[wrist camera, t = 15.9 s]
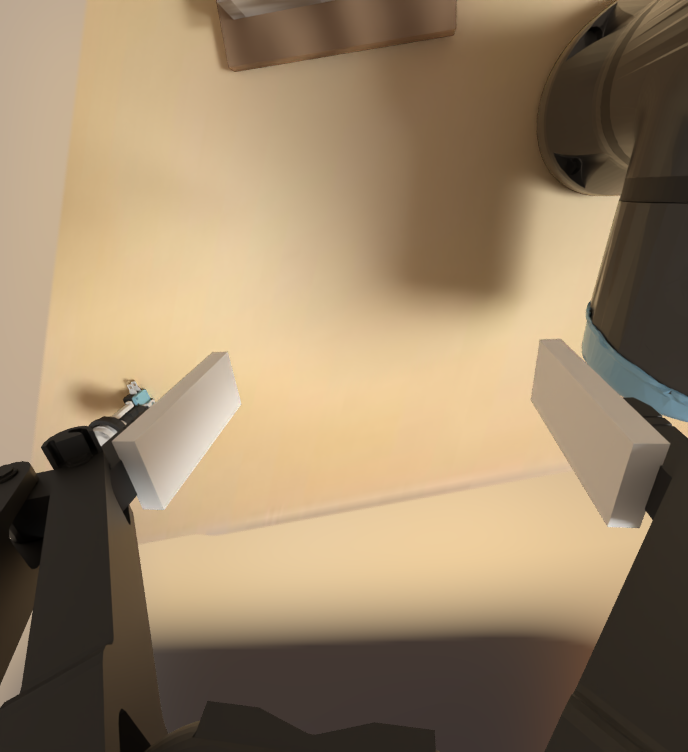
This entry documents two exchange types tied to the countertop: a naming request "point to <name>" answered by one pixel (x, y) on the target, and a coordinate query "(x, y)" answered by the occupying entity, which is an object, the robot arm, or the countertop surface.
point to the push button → (122, 414)
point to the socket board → (325, 27)
